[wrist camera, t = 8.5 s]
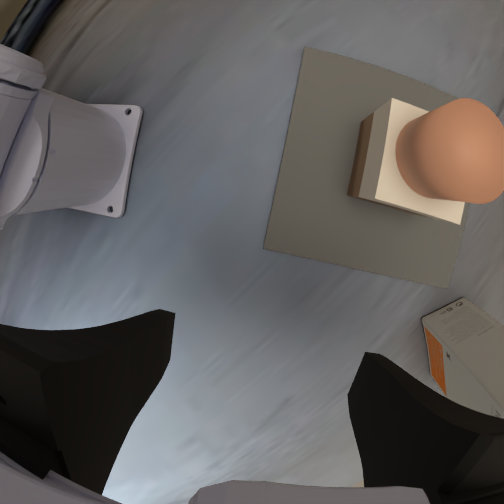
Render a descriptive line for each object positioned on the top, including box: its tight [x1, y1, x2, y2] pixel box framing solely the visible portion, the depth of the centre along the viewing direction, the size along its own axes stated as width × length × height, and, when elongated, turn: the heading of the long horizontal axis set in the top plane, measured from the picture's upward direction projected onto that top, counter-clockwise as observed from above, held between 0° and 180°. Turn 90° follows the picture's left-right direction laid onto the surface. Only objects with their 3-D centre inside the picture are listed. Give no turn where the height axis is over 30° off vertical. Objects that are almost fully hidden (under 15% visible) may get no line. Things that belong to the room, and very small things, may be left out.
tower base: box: [347, 112, 430, 218], centre depth 17 cm, size 5×5×3 cm
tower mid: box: [359, 98, 465, 225], centre depth 14 cm, size 5×5×3 cm
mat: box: [263, 47, 470, 289], centre depth 19 cm, size 14×14×1 cm
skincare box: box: [422, 298, 504, 419], centre depth 15 cm, size 6×4×12 cm
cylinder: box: [395, 98, 504, 204], centre depth 11 cm, size 4×4×4 cm
